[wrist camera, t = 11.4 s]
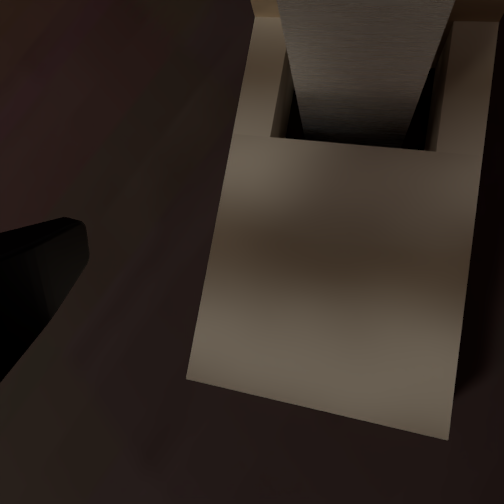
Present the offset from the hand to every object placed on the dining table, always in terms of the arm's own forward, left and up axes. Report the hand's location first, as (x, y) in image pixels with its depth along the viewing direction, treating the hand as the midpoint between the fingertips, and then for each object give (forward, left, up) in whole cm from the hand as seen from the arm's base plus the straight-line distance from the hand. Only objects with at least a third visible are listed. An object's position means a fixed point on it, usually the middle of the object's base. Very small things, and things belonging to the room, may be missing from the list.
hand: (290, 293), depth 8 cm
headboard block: (+3, -3, -10) cm, 11 cm away
